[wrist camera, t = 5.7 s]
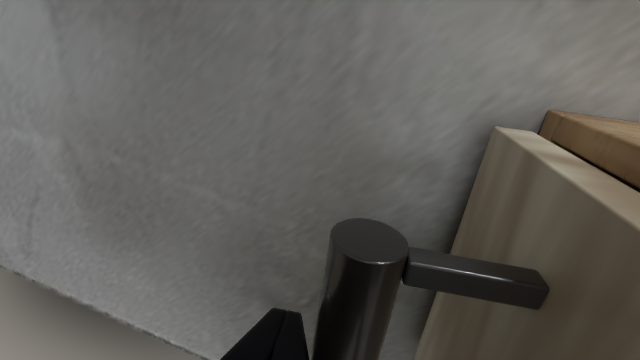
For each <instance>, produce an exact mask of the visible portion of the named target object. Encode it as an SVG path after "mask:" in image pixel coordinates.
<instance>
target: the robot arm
mask: <svg viewBox="0 0 640 360" xmlns="http://www.w3.org/2000/svg"><path fill="white" fill-rule="evenodd" d="M220 360H309V356H308V350H307V344H306V339H305V333H304V327H303V321H302V315H301V313H299V312H294V311H289V310H288V311H286V310H284V309H279V308H272V309H271V310H270V311H269V312H268V313H267V314H266V315H265V316H264V317H263V318H262V319H261V320H260V321H259V322H258V323H257V324H256V325H255V326H254V327H253V328H252V329H251V330H249V331H248V332H247V333H246V334H245V335H244V336H243V337H242V338H241V339H240V340H239V341H238V342H237V343H236V344H235V345H234V346H233V347H232V348H231V349H230V350H229V351H228V352H227V353H226V354H225V355H224V356H223V357H222V358H221V359H220Z"/></svg>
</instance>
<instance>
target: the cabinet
mask: <svg viewBox="0 0 640 360" xmlns="http://www.w3.org/2000/svg"><path fill="white" fill-rule="evenodd" d="M539 136H541V137H543V138H544V139H546V140H548V141H550V142H551V143H553V144H555V145H557V146H558V147H560V148H562V149H564V150H565V151H567V152H569V153H571V154H572V155H574V156H576V157H578V158H579V159H581V160H583V161H585V162H586V163H588V164H590V165H592V166H593V167H599V168H603V169H605V170H607V171H609V172H611V173H612V174H614V175H616V176H618V177H620V178H621V179H623V180H625V181H627V182H629V183H630V184H632V185H634V186H636V187H638V188H639V189H640V123H639V122H632V121H625V120H618V119H611V118H604V117H597V116H590V115H583V114H576V113H569V112H562V111H555V110H549V111H548V112H547V115H546V117H545V120H544V122H543V125H542V127H541V130H540V132H539Z"/></svg>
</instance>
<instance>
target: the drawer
mask: <svg viewBox="0 0 640 360" xmlns="http://www.w3.org/2000/svg"><path fill="white" fill-rule="evenodd" d="M401 278H402V281H403V284H404V285H407V286H413V287H418V288H423V289H428V290H434V291H437V293H436V296H435V299H434V302H433V305H432V308H431V311H430V313H429V316H428V319H427V322H426V325H425V328H424V331H423V334H422V337H421V340H420V342H419V345H418V348H417V351H416V354H415V357H414V360H640V189H639V188H638V187H636V186H634V185H632V184H630V183H629V182H627V181H625V180H623V179H621V178H620V177H618V176H616V175H614V174H612V173H611V172H609V171H607V170H605V169H603V168H599V167H593V166H592V165H590V164H588V163H586V162H585V161H583V160H581V159H579V158H578V157H576V156H574V155H572V154H571V153H569V152H567V151H565V150H564V149H562V148H560V147H558V146H557V145H555V144H553V143H551V142H550V141H548V140H546V139H544V138H543V137H541V136H539V135H537V134H536V133H534V132H531V131H525V130H518V129H511V128H504V127H498V126H495V127H494V128H493V130H492V133H491V136H490V139H489V142H488V145H487V148H486V151H485V153H484V156H483V159H482V162H481V165H480V168H479V171H478V174H477V177H476V180H475V183H474V185H473V188H472V191H471V194H470V197H469V200H468V203H467V206H466V209H465V212H464V215H463V217H462V220H461V223H460V226H459V229H458V232H457V235H456V238H455V241H454V244H453V247H452V249H451V252H450V254H446V253H440V252H435V251H429V250H424V249H418V248H413V247H409V246H408V243H407V241H406V239H405V238H404V236H403V235H402V234H401V233H400V232H398V231H397V230H396V229H394V228H393V227H391V226H389V225H387V224H384V223H382V222H379V221H375V220H371V219H364V218H353V219H347V220H343V221H341V222H339V223H337V224H336V225H335V226H334V227H333V229H332V230H331V233H330V239H329V246H328V252H327V258H326V265H325V271H324V277H323V283H322V290H321V296H320V302H319V309H318V315H317V321H316V328H315V334H314V340H313V347H312V353H311V359H310V360H379V356H380V353H381V349H382V345H383V342H384V338H385V335H386V331H387V328H388V324H389V320H390V317H391V313H392V310H393V306H394V303H395V299H396V296H397V292H398V288H399V285H400V281H401Z"/></svg>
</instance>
